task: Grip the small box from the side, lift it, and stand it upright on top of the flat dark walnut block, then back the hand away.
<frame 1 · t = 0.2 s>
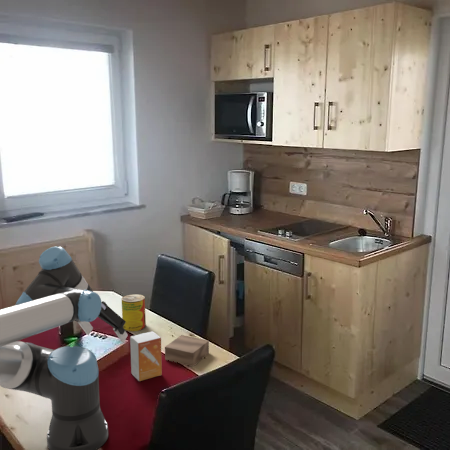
hand: (107, 335, 161), 15 cm above the table, tool tilted 35°, fingers open, 13 cm apart
small box: (146, 375, 166), on the table
walnut block: (187, 357, 179), on the table
yellow food can: (134, 327, 205), on the table
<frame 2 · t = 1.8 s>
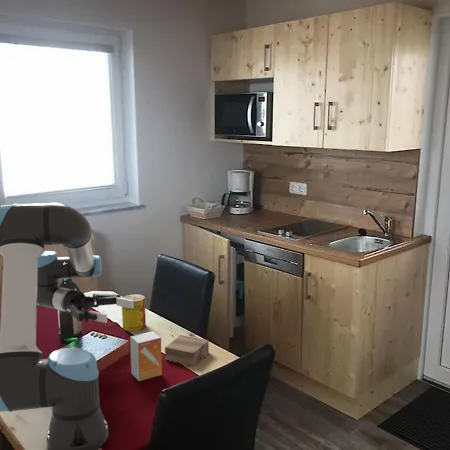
hand: (120, 311, 167), 20 cm above the table, tool horizontal, fingers open, 13 cm apart
nothing on the table moved.
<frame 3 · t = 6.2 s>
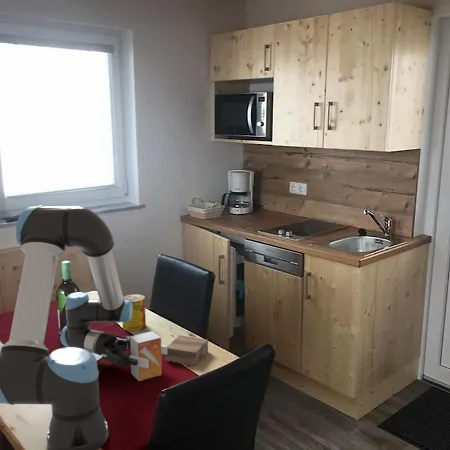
hand: (157, 356, 163), 7 cm above the table, tool horizontal, fingers closed on small box, 10 cm apart
small box: (146, 375, 166), on the table, touching gripper
everything else where it was.
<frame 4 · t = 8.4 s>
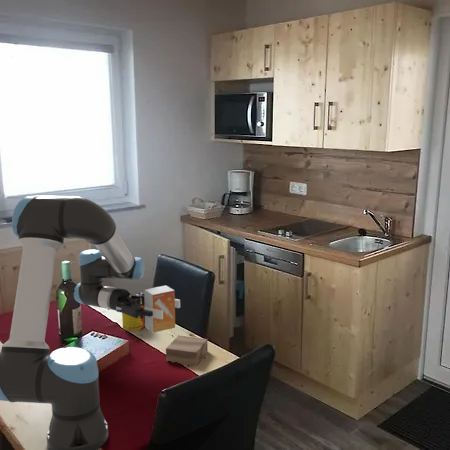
hand: (171, 309, 166), 21 cm above the table, tool horizontal, fingers closed on small box, 10 cm apart
small box: (160, 328, 170), point 13 cm above the table, touching gripper
everything else where it was.
when the fingers open (13 cm above the table, at t = 11.1 s): small box drops 2 cm, resting on walnut block.
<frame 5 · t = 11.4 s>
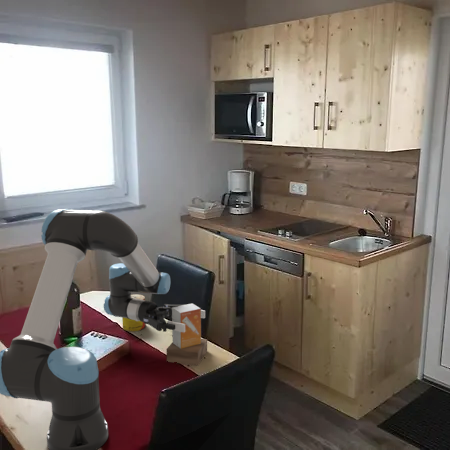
hand: (195, 321, 175), 13 cm above the table, tool horizontal, fingers open, 13 cm apart
small box: (186, 344, 179), point 4 cm above the table, touching walnut block
walnut block: (187, 357, 179), on the table, touching small box
everything else where it was.
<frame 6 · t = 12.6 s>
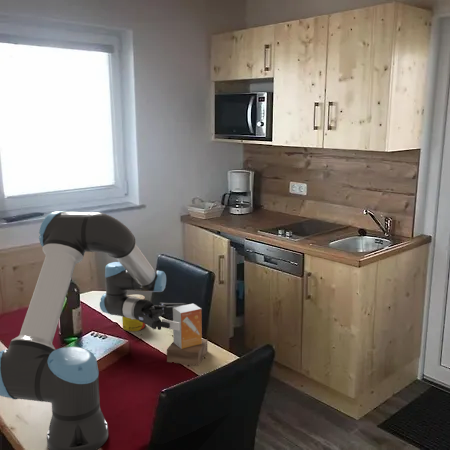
hand: (189, 319, 176), 14 cm above the table, tool horizontal, fingers open, 13 cm apart
nothing on the table moved.
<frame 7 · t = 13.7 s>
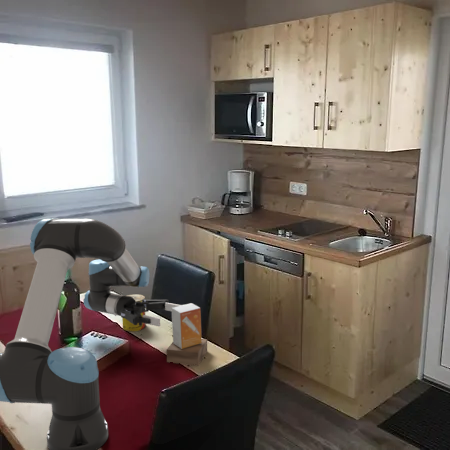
hand: (170, 315, 179), 14 cm above the table, tool horizontal, fingers open, 13 cm apart
small box: (187, 344, 178), point 5 cm above the table
walnut block: (187, 357, 179), on the table
everything else where it was.
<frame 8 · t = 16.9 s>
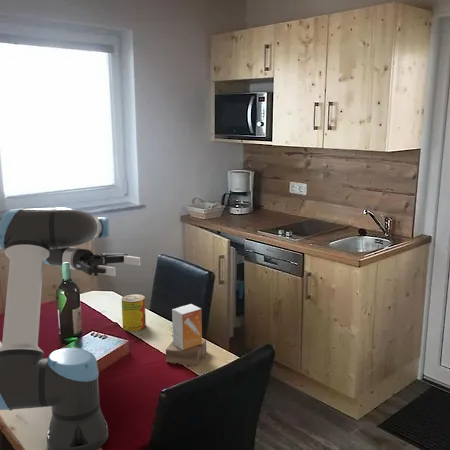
hand: (127, 266, 173), 32 cm above the table, tool horizontal, fingers open, 13 cm apart
at the end: small box 0.4 cm off-centre on the walnut block, point 4.8 cm above the walnut block's base; small box tilted 0°; the gripper is holding nothing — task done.
